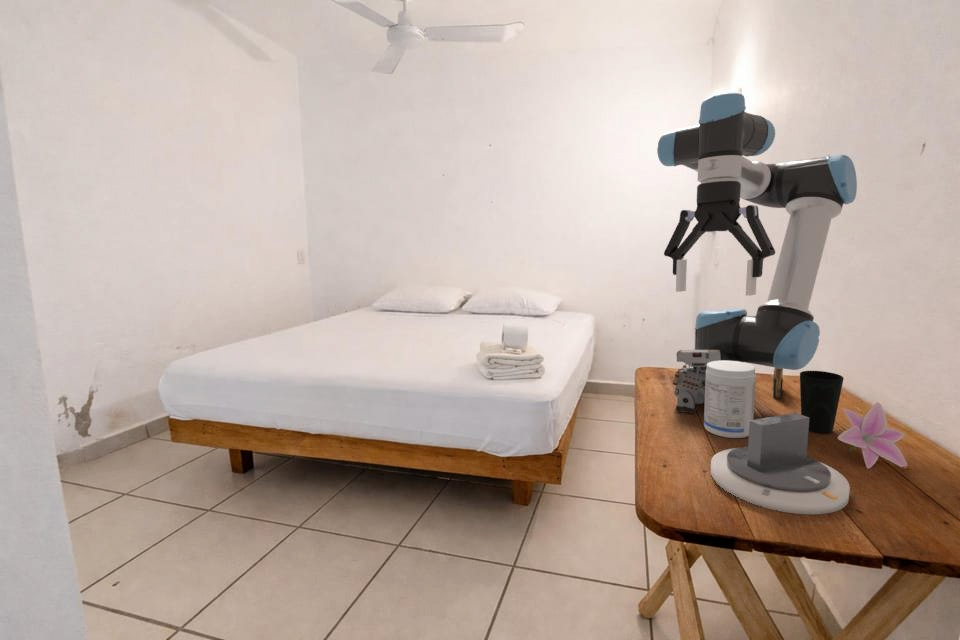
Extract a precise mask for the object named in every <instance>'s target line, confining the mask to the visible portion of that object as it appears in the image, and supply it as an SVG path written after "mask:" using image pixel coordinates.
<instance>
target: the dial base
mask: <svg viewBox="0 0 960 640" xmlns="http://www.w3.org/2000/svg"><path fill="white" fill-rule="evenodd" d="M736 448H737V447H735V448H734V447H733V448H728V449H724V450H721V451H719V452H717V453H715V454H714V455H713V456H712V457H711V461H710V476H711V475H712V477H713V479H714V480H715V481H716V483H717V484H718V485H719V486H720V487H721V488H720V487H719V486H718V485H717V484H716V483H715V484H716V485H717V486H718V487H719V488H720V489H722V488H723V489H724V490H725V492H726V491H727V492H726V493H728V492H729V493H731V494H732V495H731V494H730V495H731V496H733V495H734V496H733V497H735V496H736V497H735V498H737V497H739V498H740V499H739V498H738V499H739V500H741V499H743V500H745V501H744V502H746V501H747V502H746V503H749V502H750V503H749V504H751V503H752V505H754V504H755V506H757V505H758V506H757V507H760V506H762V507H761V508H764V509H768V510H772V511H776V510H777V512H782V513H787V514H789V513H790V514H796V515H811V516H812V515H825V514H826V515H827V514H831V513H835V512H838V511H840V510H842V509H844V508H845V507H846V506H847V505H848V503H849V501H850V492H851V491H850V489H851V488H850V483H849V481H848V480H847V478H846V477H845V476H844V475H843V474H842V473H841V472H839V471H837V470H836V469H834V468H833V467H831V466H829V465H827V464H826V463H823V462H820V461H818V460H817V461H818V462H820V463H822V464H823V465H824V466H826V467H827V468H828V469H829V471H830V473H831V481H830V484H829V486H827V487H826V488H824V489H821V490H818V491H811V492H793V491H784V490H778V489H773V488H769V487H765V486H762V485H758V484H755V483H753V482H750V481H748V480H746V479H744V478H742V477H740V476H738V475H736V474H735V473H734V472H733V471H731V470H730V468H729V467H728V465H727V455H728V453H729V452H730V451H732V450H734V449H736ZM712 477H711V478H712ZM713 479H712V480H713ZM714 480H713V481H714ZM723 489H722V490H723ZM724 490H723V491H724ZM729 493H728V494H729ZM743 500H742V501H743Z"/></svg>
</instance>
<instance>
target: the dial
mask: <svg viewBox="0 0 960 640" xmlns="http://www.w3.org/2000/svg"><path fill="white" fill-rule="evenodd" d="M808 430H809V417H806V416H803V415H801V413H797V412H792V413H788V414H787V413H786V414H780V415H776V416H769V417H763V418H762V417H761V418H756V419H753V420H750V423H749V436H748V443H747V445H748V446H742V447H735V448H736V449H734V450H732V451H730V452H729V453H728V455H727V465H728V467H729V468H730V470H731V471H733V472H734V473H735V474H736V475H738V476H740V477H742V478H744V479H746V480H748V481H750V482H753V483H755V484H758V485H762V486H765V487H769V488H773V489H778V490H784V491H793V492H811V491H818V490H821V489H824V488H826V487H827V486H829V484H830V481H831V473H830V471H829V469H828V468H827V467H826V466H824V465H823V464H824V463H823V462H821V463H820V461H819V462H818V460H816V459H815V458H812V457H810V456H808V454H807V453H808V441H809V431H808ZM822 463H823V464H822Z"/></svg>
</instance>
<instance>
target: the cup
mask: <svg viewBox="0 0 960 640" xmlns="http://www.w3.org/2000/svg"><path fill="white" fill-rule="evenodd" d="M843 382H844V376H842V375H841V374H838V373H834V372H830V371H824V370H823V371H822V370H804V371H800V372H799V387H800V389H799V391H800V414H801V415H803V416H806V417H809V430H808V433H814V434H819V435H821V434H822V435H830V434H832V433H833V432H834V426H835V422H836V417H837V414H838V407H839V403H840V399H841V398H840V397H841V393H842V389H843Z"/></svg>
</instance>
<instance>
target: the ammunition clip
mask: <svg viewBox="0 0 960 640" xmlns="http://www.w3.org/2000/svg"><path fill="white" fill-rule="evenodd" d="M783 371H784V369H777V368H775V367H774V369H773V378H772V379H773V380H772V398H773V399H777V400H778V399H779V400H782V397H783V384H784V383H783V381H784V379H783V373H784V372H783Z"/></svg>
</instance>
